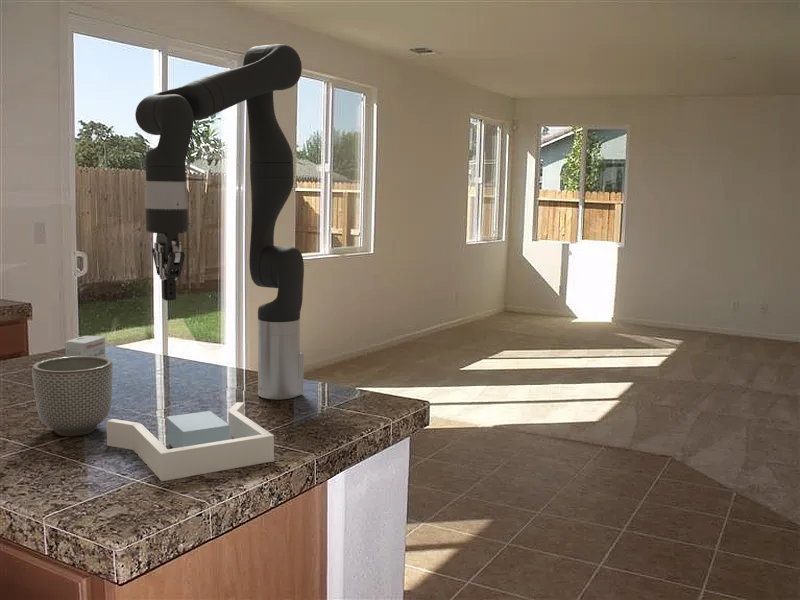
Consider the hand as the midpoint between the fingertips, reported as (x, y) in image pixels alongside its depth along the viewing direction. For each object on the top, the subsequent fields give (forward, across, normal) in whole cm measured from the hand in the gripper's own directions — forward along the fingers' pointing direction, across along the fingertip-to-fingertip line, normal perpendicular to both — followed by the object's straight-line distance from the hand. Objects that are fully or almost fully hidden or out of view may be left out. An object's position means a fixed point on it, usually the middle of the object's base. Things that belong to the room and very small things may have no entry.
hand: (169, 299), depth 148 cm
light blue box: (+25, -16, 0) cm, 29 cm away
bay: (+25, -15, 0) cm, 29 cm away
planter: (+25, +7, +16) cm, 31 cm away
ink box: (+25, +37, +8) cm, 45 cm away
